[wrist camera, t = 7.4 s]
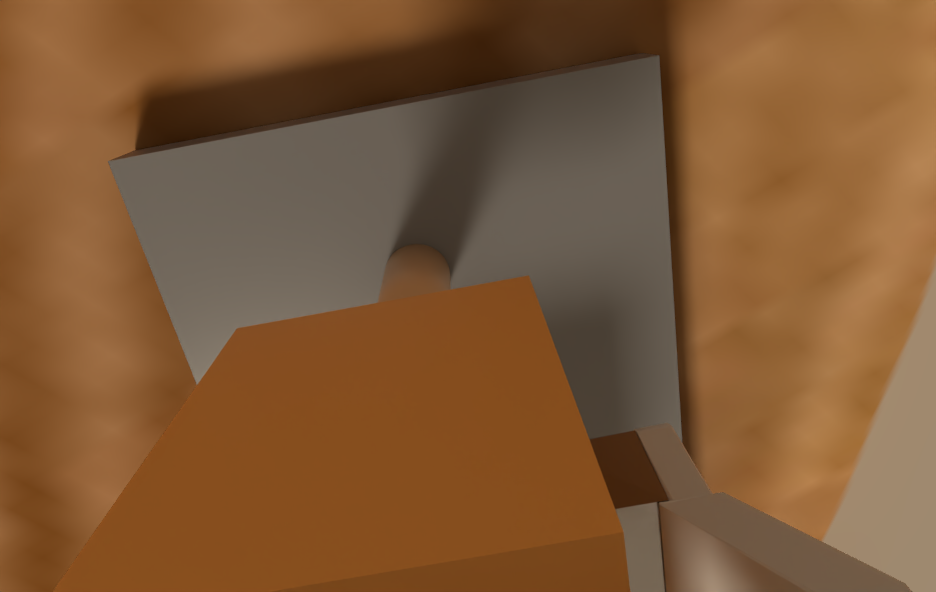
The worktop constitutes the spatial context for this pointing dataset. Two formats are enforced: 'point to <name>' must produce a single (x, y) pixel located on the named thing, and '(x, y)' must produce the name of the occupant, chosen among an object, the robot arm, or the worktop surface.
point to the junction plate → (436, 221)
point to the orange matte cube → (372, 462)
